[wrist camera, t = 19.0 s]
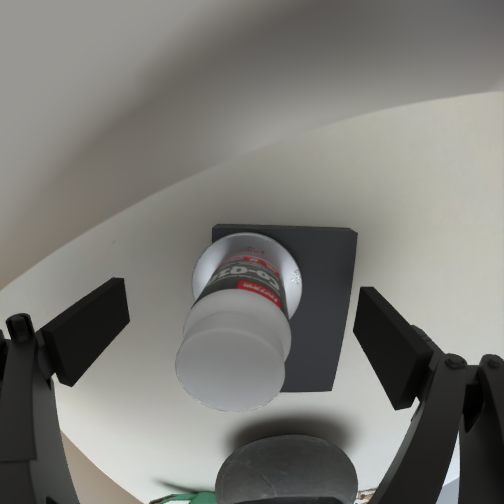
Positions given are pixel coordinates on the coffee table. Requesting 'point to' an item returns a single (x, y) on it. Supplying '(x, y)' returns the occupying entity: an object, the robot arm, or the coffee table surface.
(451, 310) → the coffee table surface
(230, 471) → the bowl
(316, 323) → the scale
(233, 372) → the pill bottle
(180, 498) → the mug
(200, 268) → the scale pan
